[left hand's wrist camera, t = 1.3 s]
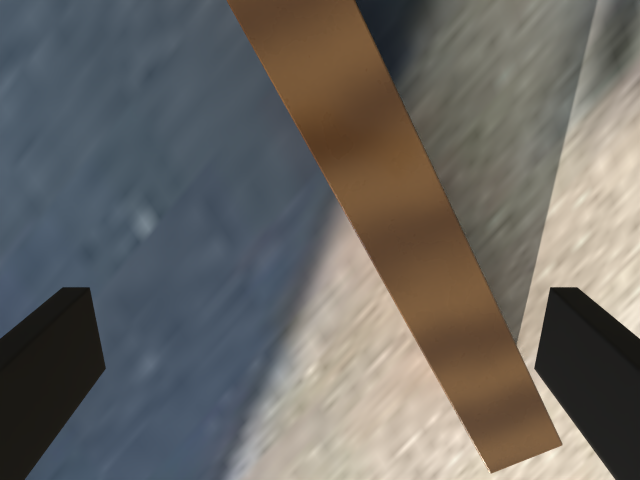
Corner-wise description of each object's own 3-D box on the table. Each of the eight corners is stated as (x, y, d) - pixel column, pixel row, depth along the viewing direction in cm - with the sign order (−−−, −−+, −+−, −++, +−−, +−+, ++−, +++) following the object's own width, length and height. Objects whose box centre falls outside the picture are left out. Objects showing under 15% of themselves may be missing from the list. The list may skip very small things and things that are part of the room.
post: (511, 368, 39) (563, 445, 31) (454, 393, 40) (490, 474, 32) (-14, -724, 20) (-255, -1306, 11) (-104, -629, 20) (-389, -1105, 12)
